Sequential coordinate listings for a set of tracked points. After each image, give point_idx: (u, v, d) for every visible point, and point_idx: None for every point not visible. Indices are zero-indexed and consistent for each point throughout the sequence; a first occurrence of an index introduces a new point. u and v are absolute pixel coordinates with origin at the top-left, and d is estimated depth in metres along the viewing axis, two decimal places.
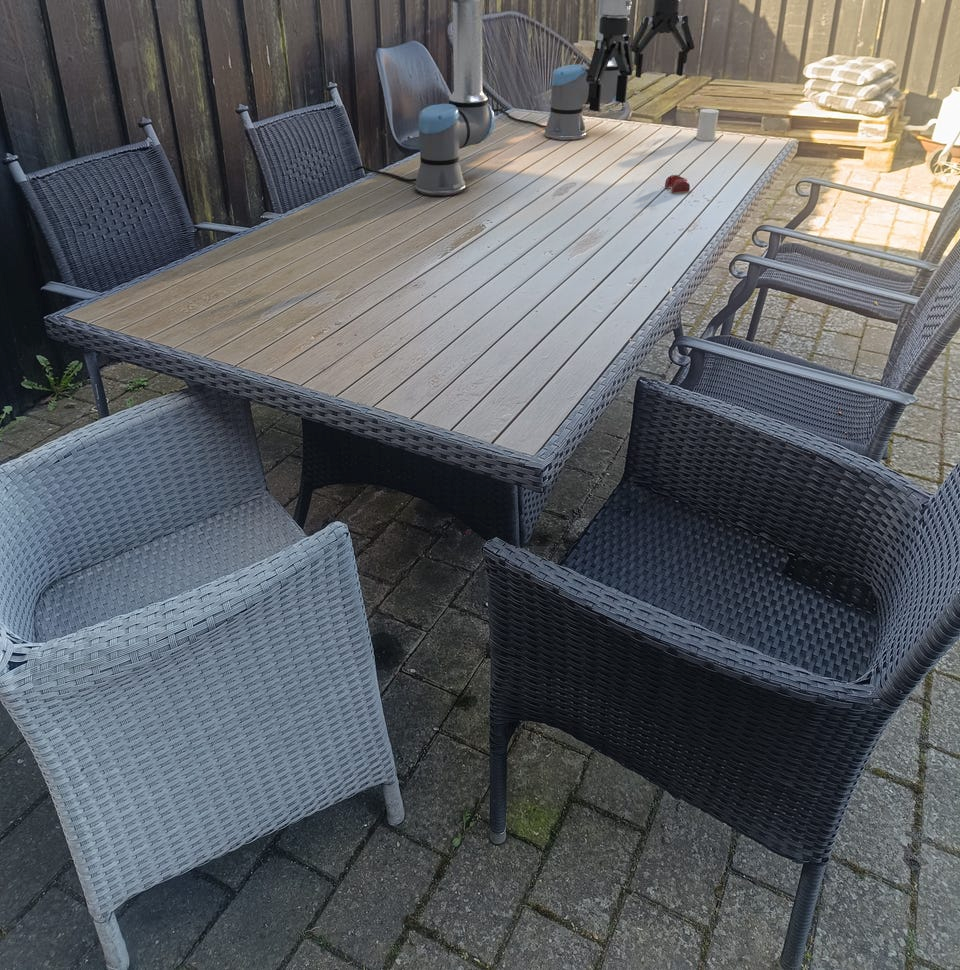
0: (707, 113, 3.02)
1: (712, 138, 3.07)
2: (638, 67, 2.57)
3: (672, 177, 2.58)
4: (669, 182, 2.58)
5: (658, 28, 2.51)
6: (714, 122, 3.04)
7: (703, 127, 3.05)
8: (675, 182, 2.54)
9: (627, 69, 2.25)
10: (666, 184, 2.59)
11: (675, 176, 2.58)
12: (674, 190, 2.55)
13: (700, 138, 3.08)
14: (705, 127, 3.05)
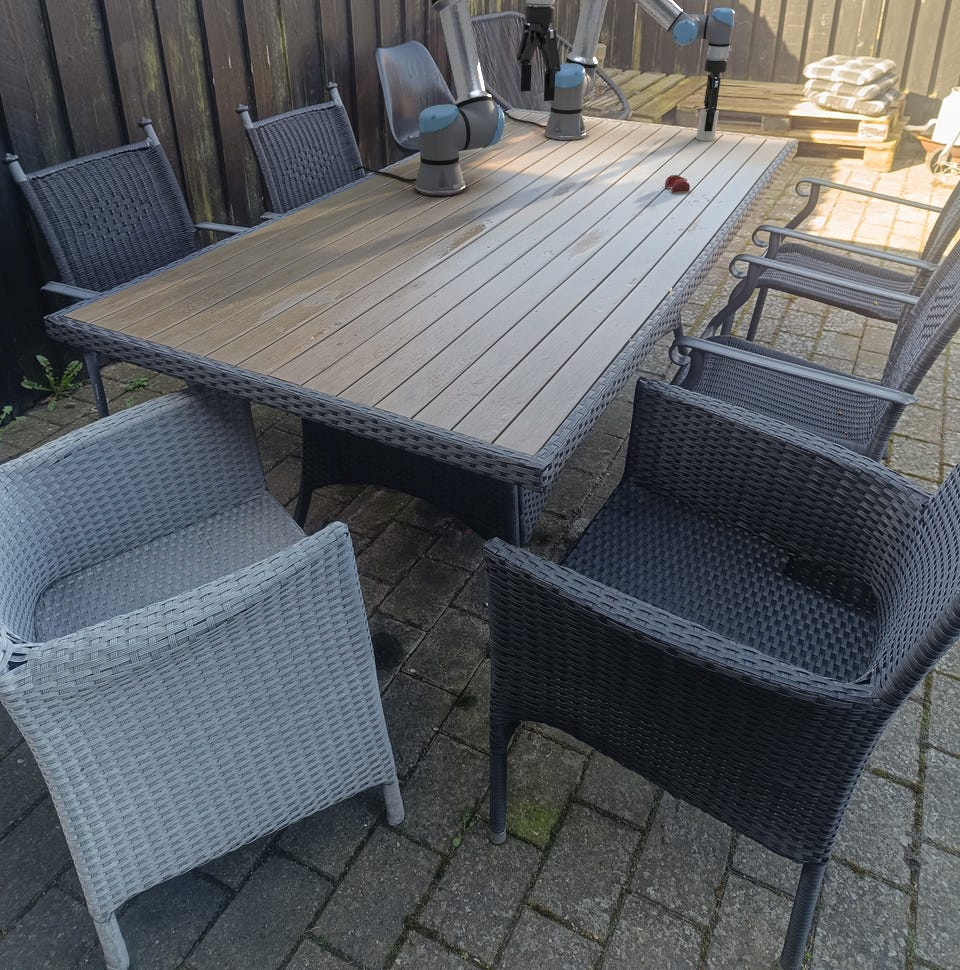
0: None
1: (712, 138, 3.07)
2: (710, 123, 3.03)
3: (672, 177, 2.58)
4: (669, 182, 2.58)
5: None
6: (714, 122, 3.04)
7: (703, 127, 3.05)
8: (675, 182, 2.54)
9: None
10: (666, 184, 2.59)
11: (675, 176, 2.58)
12: (674, 190, 2.55)
13: (700, 138, 3.08)
14: None
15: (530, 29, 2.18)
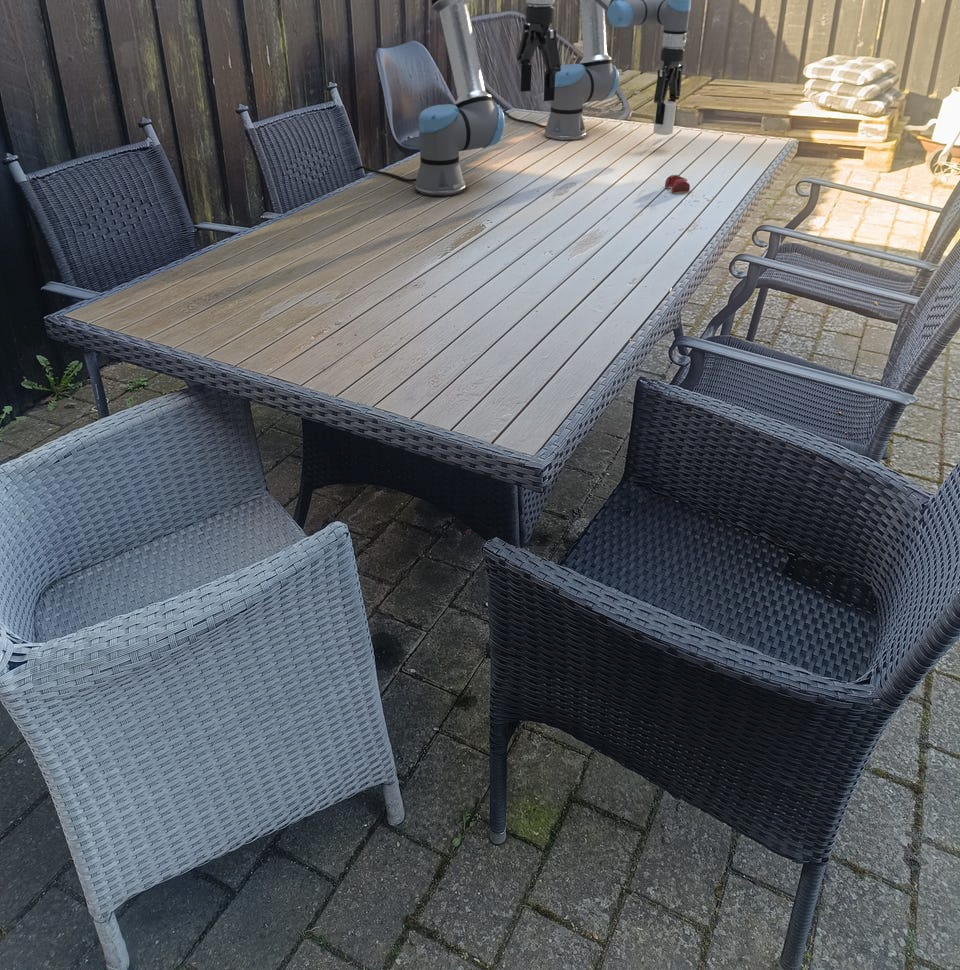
0: None
1: (665, 132, 2.89)
2: (660, 115, 2.85)
3: (672, 177, 2.58)
4: (669, 182, 2.58)
5: (671, 76, 2.79)
6: (666, 115, 2.85)
7: None
8: (675, 182, 2.54)
9: None
10: (666, 184, 2.59)
11: (675, 176, 2.58)
12: (674, 190, 2.55)
13: (654, 131, 2.91)
14: None
15: (530, 29, 2.18)
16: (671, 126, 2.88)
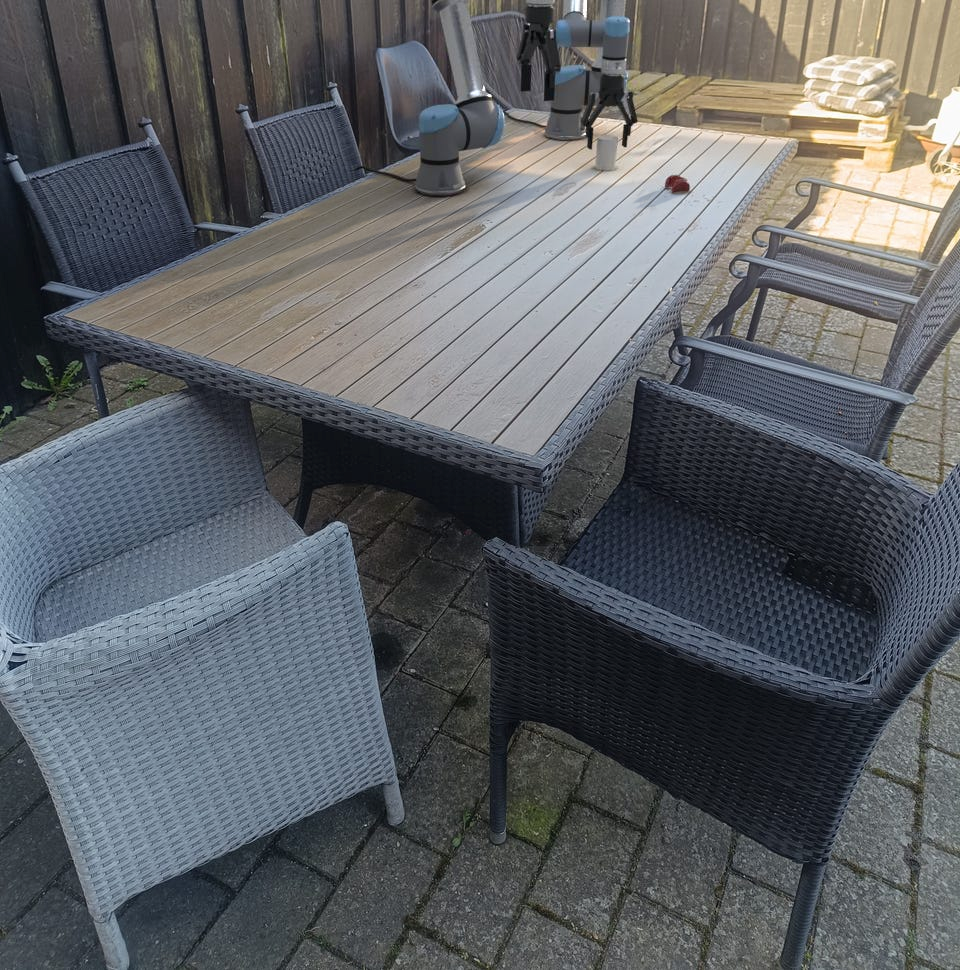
0: (597, 138, 2.73)
1: (600, 168, 2.76)
2: (589, 139, 2.71)
3: (672, 177, 2.58)
4: (669, 182, 2.58)
5: (605, 103, 2.65)
6: (601, 150, 2.73)
7: None
8: (675, 182, 2.54)
9: None
10: (666, 184, 2.59)
11: (675, 176, 2.58)
12: (674, 190, 2.55)
13: None
14: (596, 153, 2.76)
15: (530, 29, 2.18)
16: (607, 162, 2.74)
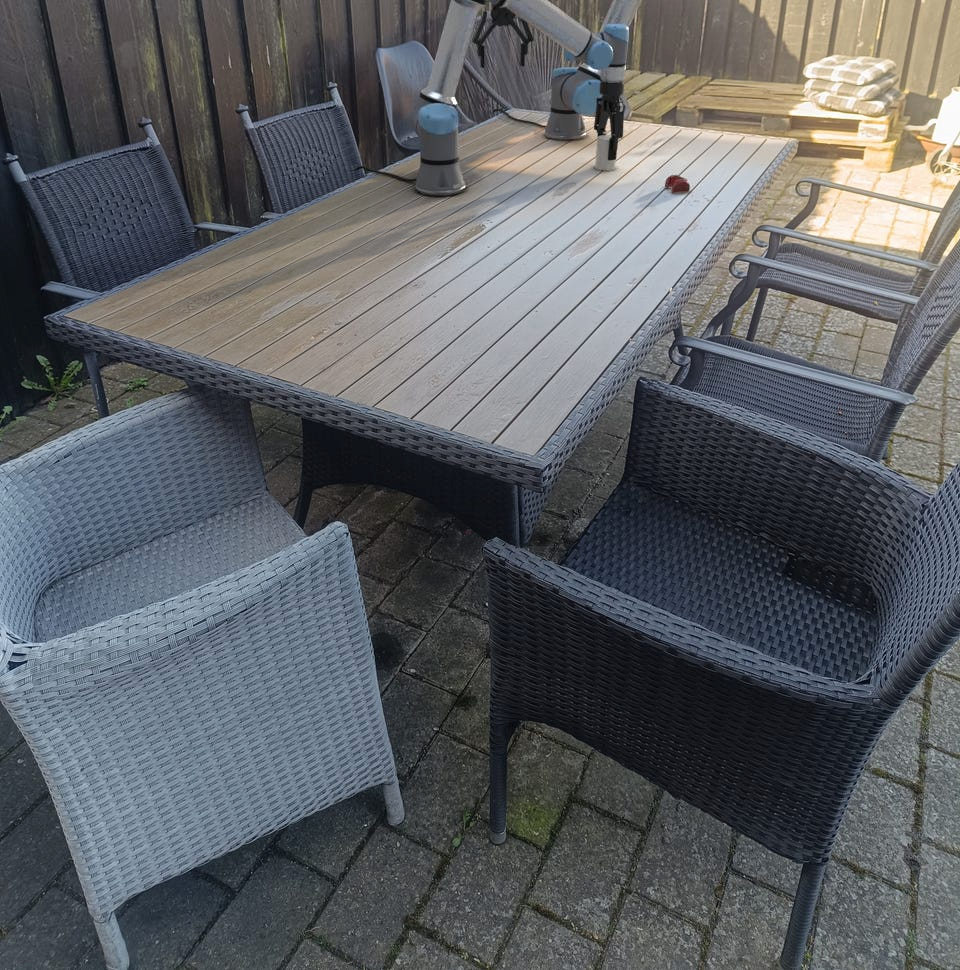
0: (597, 138, 2.73)
1: (600, 168, 2.76)
2: (481, 58, 2.76)
3: (672, 177, 2.58)
4: (669, 182, 2.58)
5: (496, 22, 2.70)
6: (601, 150, 2.73)
7: None
8: (675, 182, 2.54)
9: None
10: (666, 184, 2.59)
11: (675, 176, 2.58)
12: (674, 190, 2.55)
13: None
14: (596, 153, 2.76)
15: (603, 98, 2.68)
16: (607, 162, 2.74)
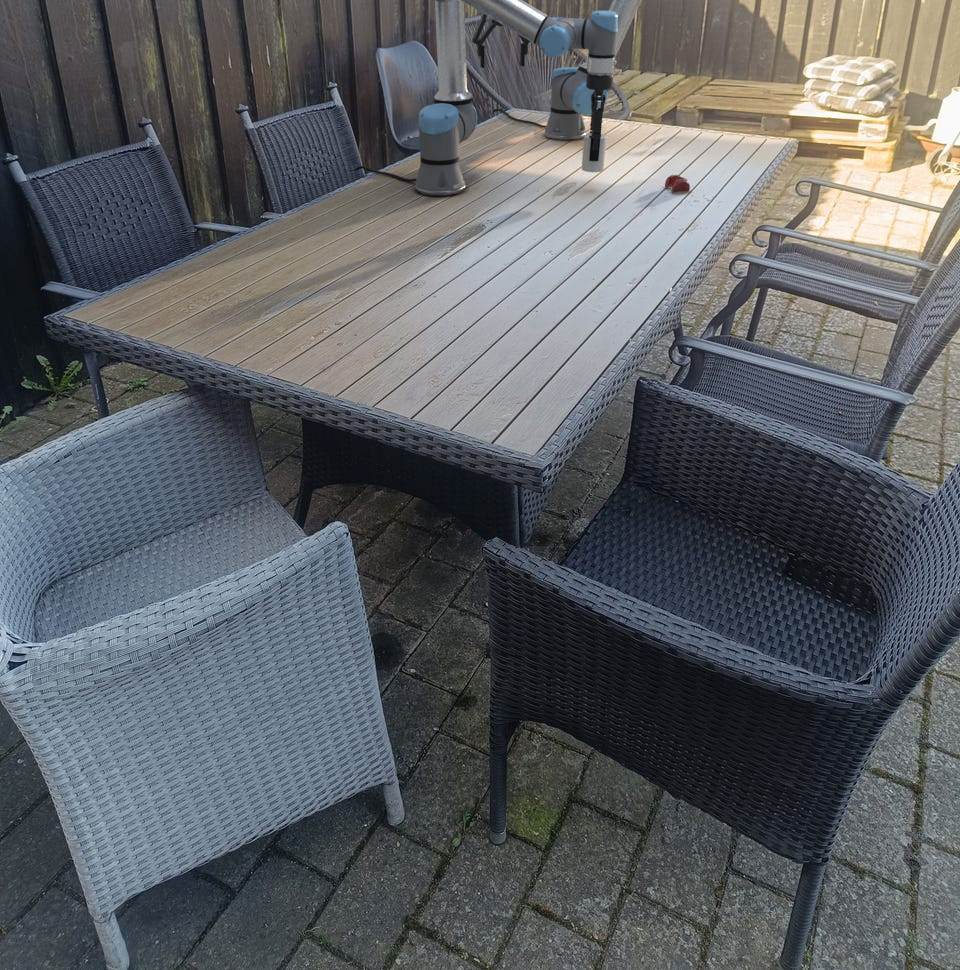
0: None
1: (583, 168, 2.53)
2: (481, 58, 2.76)
3: (672, 177, 2.58)
4: (669, 182, 2.58)
5: (496, 22, 2.70)
6: (584, 148, 2.50)
7: None
8: (675, 182, 2.54)
9: None
10: (666, 184, 2.59)
11: (675, 176, 2.58)
12: (674, 190, 2.55)
13: None
14: None
15: None
16: (589, 163, 2.51)
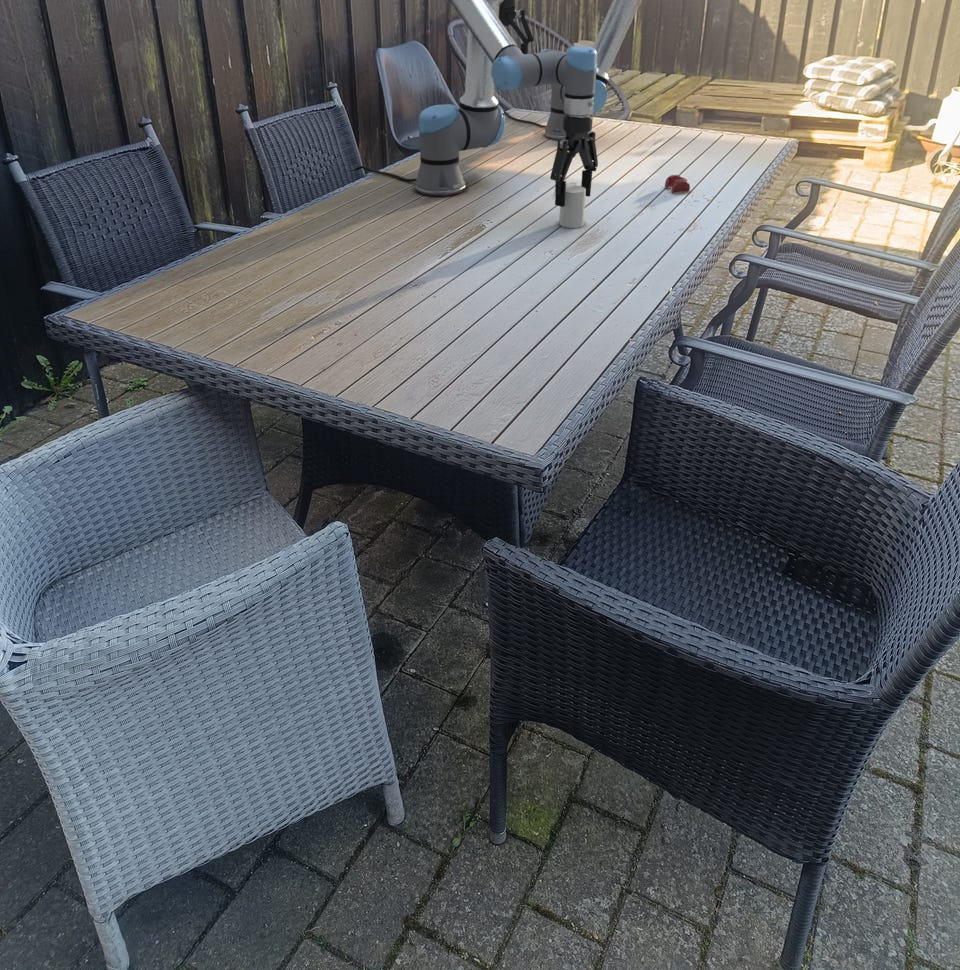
0: None
1: (559, 221, 2.33)
2: None
3: (672, 177, 2.58)
4: (669, 182, 2.58)
5: None
6: None
7: None
8: (675, 182, 2.54)
9: (591, 165, 2.27)
10: (666, 184, 2.59)
11: (675, 176, 2.58)
12: (674, 190, 2.55)
13: None
14: None
15: None
16: (561, 216, 2.30)
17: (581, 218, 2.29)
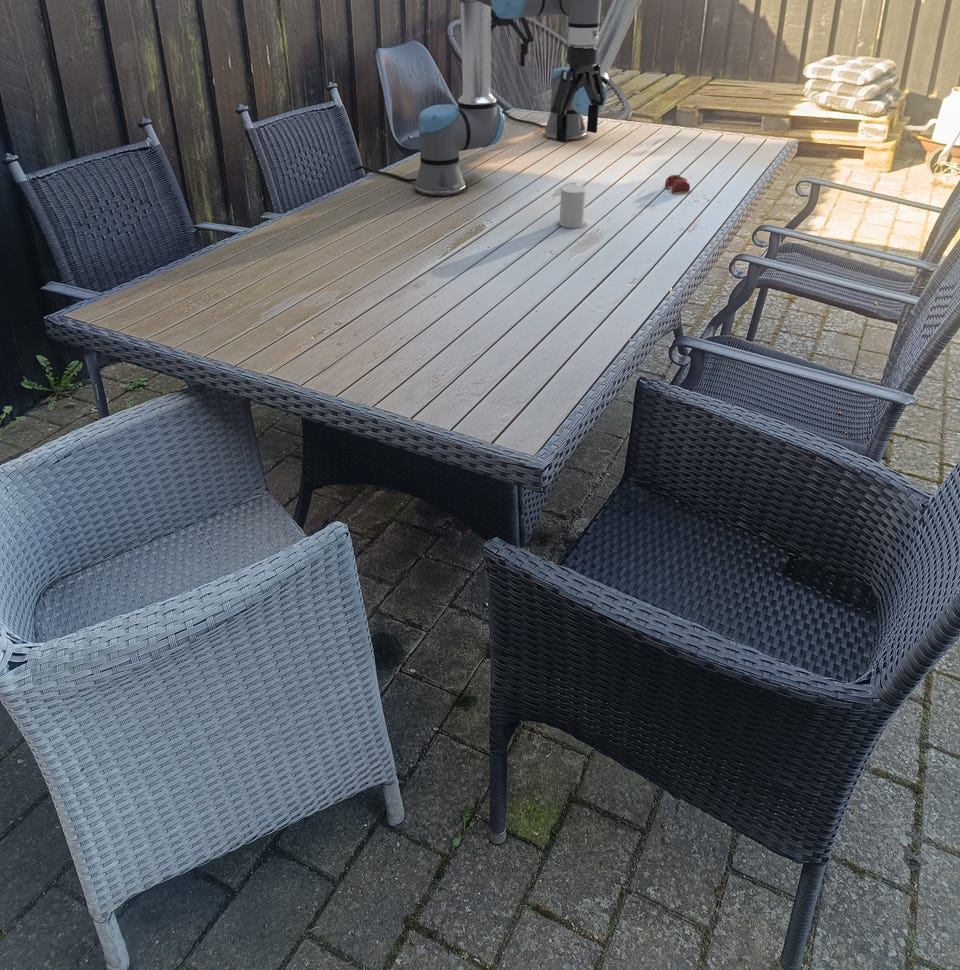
0: None
1: (559, 221, 2.33)
2: None
3: (672, 177, 2.58)
4: (669, 182, 2.58)
5: (496, 22, 2.70)
6: None
7: None
8: (675, 182, 2.54)
9: (598, 99, 2.18)
10: (666, 184, 2.59)
11: (675, 176, 2.58)
12: (674, 190, 2.55)
13: None
14: None
15: None
16: (561, 216, 2.30)
17: (581, 218, 2.29)
